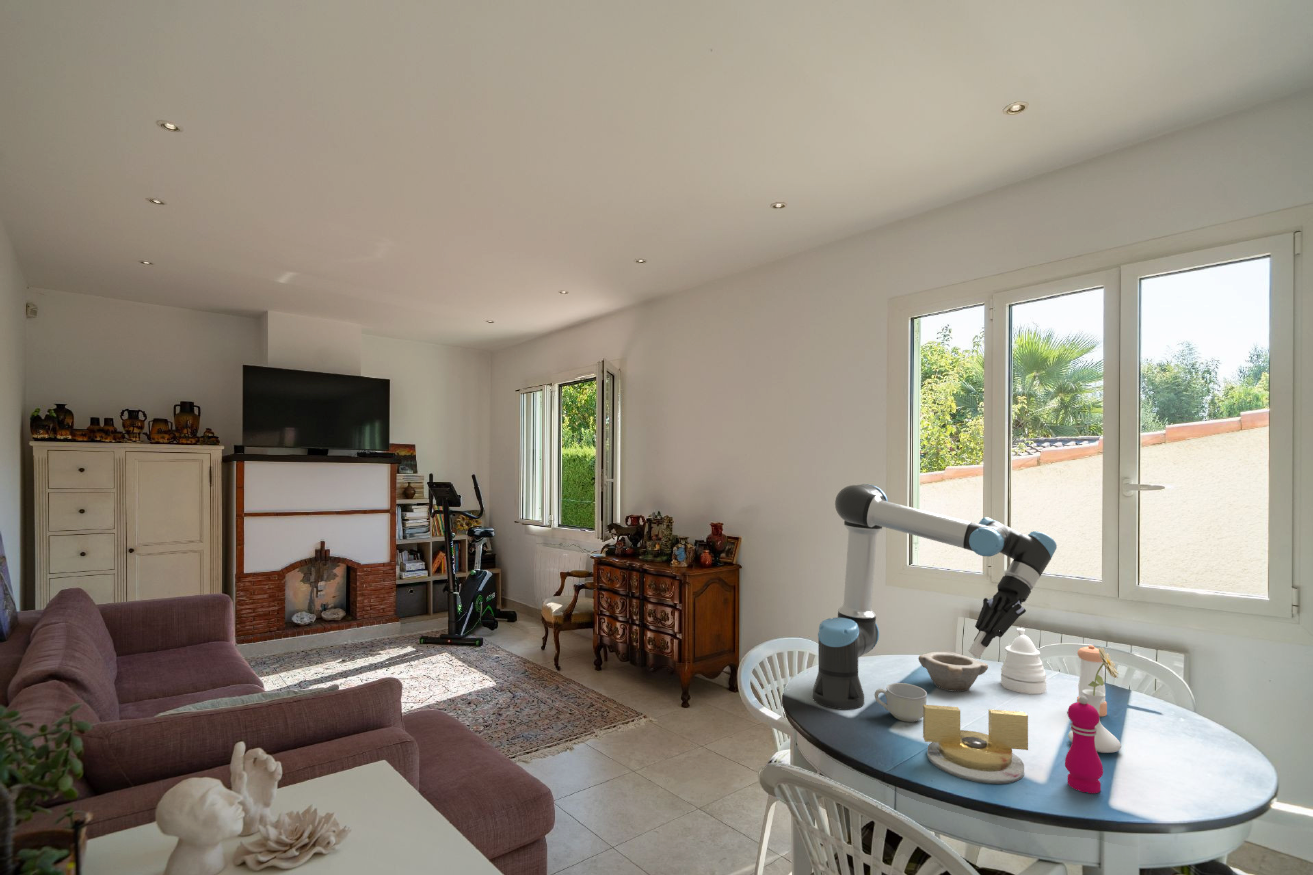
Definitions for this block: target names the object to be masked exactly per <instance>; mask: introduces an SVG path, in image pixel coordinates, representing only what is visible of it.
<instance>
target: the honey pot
mask: <svg viewBox="0 0 1313 875" xmlns="http://www.w3.org/2000/svg"><path fill="white" fill-rule="evenodd" d="M1015 630H1016V633H1017V634H1018V636H1016V637H1015V639H1013V641H1012V642H1011V645H1007V646H1005V647H1004V650H1005V652H1007V653H1006V655H1005V657H1004V661H1003V664H1002V665H1001V668H1000V672H1001V673H1000V684H1001V686H1002V687H1003V688H1005V689H1007V690H1010V691H1013V692H1018V693H1021V694H1030V695H1032V694H1033V695H1038V694H1039V695H1040V694H1045V693H1046V692H1047V672H1046V671H1045V668H1044V667H1045V666H1043V665H1044V664H1043V661H1042V660H1041V652H1040V650H1038V649H1037V648H1036V646H1035V644H1034V642H1033V641H1032V640H1031V638H1030V637H1029V636H1028V635H1025V633H1026V629H1025V628H1021V627H1020V628H1019V627H1017V628H1016V629H1015Z"/></svg>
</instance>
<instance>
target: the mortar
mask: <svg viewBox="0 0 1313 875" xmlns="http://www.w3.org/2000/svg"><path fill="white" fill-rule="evenodd" d="M917 659H918V662H919V664H920V665H921V667H923V668H925V670H926V672H927V673H928V675H929V677H930V679H931V681H932V682H933V684H934V685H935V686H936V687H938V688H939V689H942V690H945V691H949V692H950V691H951V692H965V691H968V690H970V688H972V686H973V685H974V683H975V682H976V680H977V679H978V676H980V675H981V676H982V675H984V674H985V673H986V671H987V670H988V669H989V666H988V664H987V663H986V662H983V661H980V660H977V659H975V658H973V657H971V656H968V655H963V654H959V653H956V652H953V651H934V652H927V653H922V654H920V655H919V656H918V658H917Z"/></svg>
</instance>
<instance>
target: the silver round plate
mask: <svg viewBox="0 0 1313 875" xmlns="http://www.w3.org/2000/svg"><path fill="white" fill-rule="evenodd" d="M927 758H928V760H929V762H930V763H931V764H933V766H935V767H936V768H938V769H939V770H941V771H943V772H945V773H947V774H949V775H951V776H954V777H957V778H960V779H964V780H967V781H971V782H976V783H983V784H991V785H992V784H993V785H994V784H996V785H997V784H999V785H1003V784H1011V782H1012V783H1015V782H1018V781H1020V780H1021V779H1022V778H1023V777H1024V776H1025V764H1024V762H1023V760H1022V759H1021V757H1019V756H1018V755H1016V754H1015V753H1013V752H1012V764H1011V765H1010V766H1009V767H1007V768H1003V769H996V770H988V769H978V768H973V767H968V766H965V765H961V764H958V763H956V762H954V761H951V760H949V759H948V758H946V757H945V756H943V755H942V754H941V753H940V751H939V743H937V742H929V744H928V745H927ZM1014 781H1015V782H1014Z"/></svg>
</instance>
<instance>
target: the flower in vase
mask: <svg viewBox="0 0 1313 875" xmlns="http://www.w3.org/2000/svg"><path fill="white" fill-rule="evenodd" d="M1097 649H1098V650H1099V655H1100V658H1101V660H1102V662H1103V663H1102V665H1101V666H1100V668H1099V669H1098V671H1097V673H1096V677H1095V682H1094V681H1092V682H1091V683H1090V684H1088V685H1089V686H1092V687H1094V690H1083V691H1082V692H1083V693H1084V695H1085V696H1086V698H1087V699H1088V704H1090V705H1091V706H1093V707H1094V708H1095V709H1096V710H1097V711H1098V713H1099V709H1100V704H1101V701H1102V699H1103V698H1104V697H1105V698H1106V693H1105V694H1104V693H1102V692H1100V691H1095V687H1096V686H1099V685H1101V686H1102V685H1103V684H1104V685H1105V680H1104V681H1103V679H1104V678H1103V679H1102V677H1101V676H1099V675H1098V673H1099V671H1100V669H1101V668H1102V666H1103V667H1104V668H1105V669H1106V671H1107V672H1108V673H1109V675H1110V676H1111V677H1113V678H1114V679H1118V678H1119V676H1118V675H1119V671H1117V669H1116V664H1115V662H1113V661H1112V659H1111V656H1110V654H1109V653H1108V652H1107V653H1106V651H1105V649H1104V647H1098V648H1097ZM1096 680H1097V682H1098V683H1099V684H1097V683H1096ZM1095 727H1096V728H1097V730H1096V732H1097V735H1095V739H1094V741H1095V748H1096V751H1097V753H1102V754H1103V753H1104V754H1105V753H1106V754H1107V753H1108V754H1109V753H1111V754H1112V753H1115V752H1119V751H1120V750H1121V749H1122V745H1121V742H1120V740H1119V739H1118V738H1117V737H1116V736H1115V735H1114V734H1112V733H1111V731H1109V730H1108V729H1107V728H1106V727H1104V725H1103V724H1102V723H1101V720H1100V718H1099V723H1098V724H1097V725H1096V726H1095ZM1067 738H1068V739H1069V741H1070V742H1071V743H1072V741H1073V731H1072V730H1071V729H1070V731H1069V733H1068V734H1067Z"/></svg>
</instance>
